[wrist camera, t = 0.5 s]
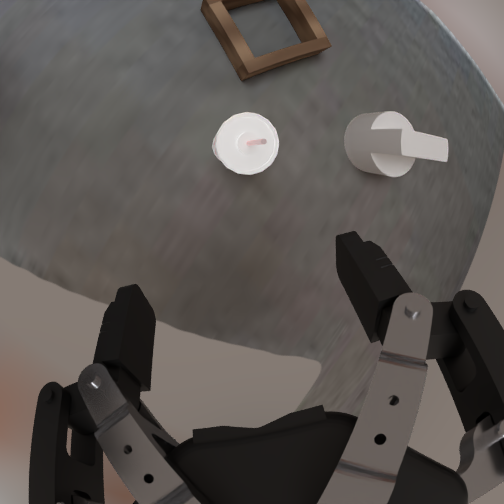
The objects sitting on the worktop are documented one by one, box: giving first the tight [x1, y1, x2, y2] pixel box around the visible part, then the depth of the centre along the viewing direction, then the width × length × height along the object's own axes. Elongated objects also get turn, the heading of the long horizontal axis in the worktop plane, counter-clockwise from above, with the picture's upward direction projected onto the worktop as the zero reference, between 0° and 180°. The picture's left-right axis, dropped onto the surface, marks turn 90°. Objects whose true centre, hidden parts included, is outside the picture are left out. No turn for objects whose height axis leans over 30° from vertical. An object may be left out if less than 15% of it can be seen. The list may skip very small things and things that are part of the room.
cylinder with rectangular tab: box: [344, 111, 448, 177], centre depth 34 cm, size 9×9×12 cm
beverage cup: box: [212, 112, 279, 175], centre depth 28 cm, size 6×6×14 cm
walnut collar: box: [201, 0, 331, 81], centre depth 28 cm, size 12×12×4 cm
